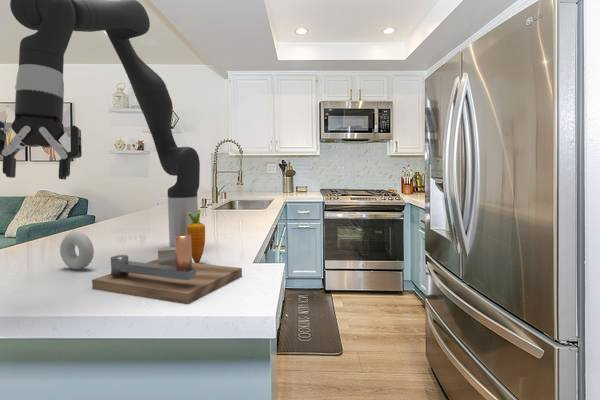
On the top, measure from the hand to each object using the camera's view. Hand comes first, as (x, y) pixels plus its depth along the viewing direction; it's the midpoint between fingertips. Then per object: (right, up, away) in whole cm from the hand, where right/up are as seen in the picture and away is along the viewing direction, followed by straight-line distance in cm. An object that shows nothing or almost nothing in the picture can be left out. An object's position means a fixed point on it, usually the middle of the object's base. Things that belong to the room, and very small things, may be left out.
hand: (36, 178), depth 70 cm
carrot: (+22, -22, +32) cm, 44 cm away
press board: (+20, -23, +15) cm, 34 cm away
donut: (-8, -23, +27) cm, 36 cm away
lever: (+18, -21, +9) cm, 29 cm away
